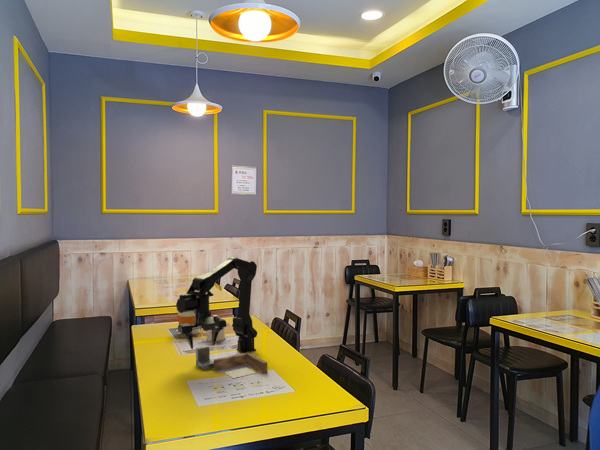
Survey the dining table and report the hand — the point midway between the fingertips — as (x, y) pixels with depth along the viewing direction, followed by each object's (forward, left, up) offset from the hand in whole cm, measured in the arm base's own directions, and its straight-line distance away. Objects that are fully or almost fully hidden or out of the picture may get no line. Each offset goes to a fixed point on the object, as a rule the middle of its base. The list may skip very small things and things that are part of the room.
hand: (202, 346), depth 186 cm
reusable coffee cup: (-14, -50, -7) cm, 52 cm away
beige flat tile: (-7, +18, -7) cm, 21 cm away
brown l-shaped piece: (-9, +17, -7) cm, 20 cm away
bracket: (0, +3, -7) cm, 8 cm away
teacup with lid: (-18, -31, -7) cm, 37 cm away
